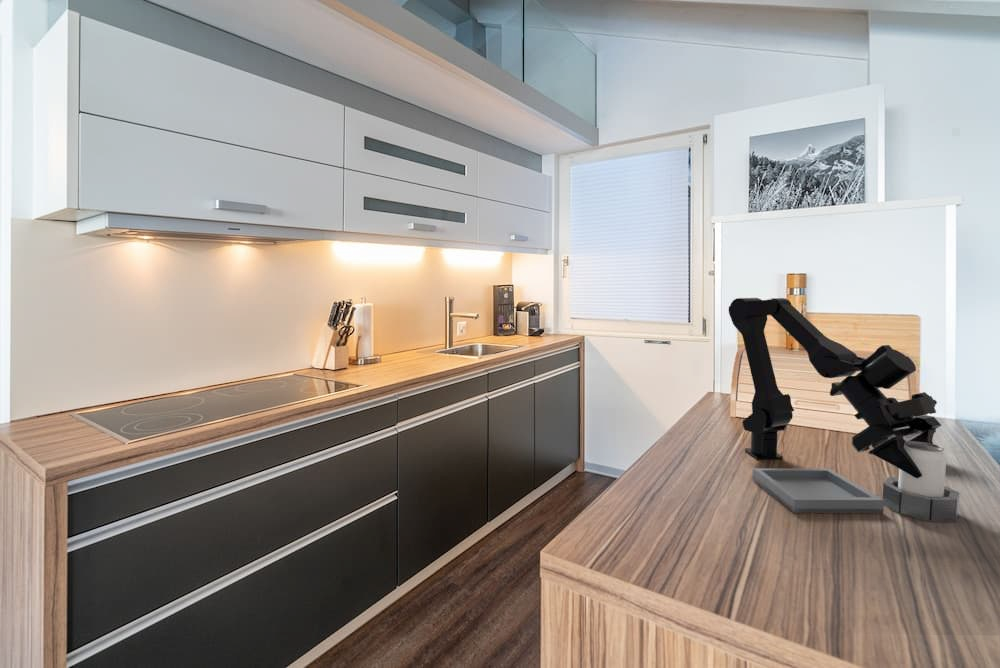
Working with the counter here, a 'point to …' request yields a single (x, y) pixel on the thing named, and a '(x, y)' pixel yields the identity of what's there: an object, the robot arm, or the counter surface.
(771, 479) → the tray
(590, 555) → the counter surface
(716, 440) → the counter surface
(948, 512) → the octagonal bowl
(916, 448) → the can
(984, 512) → the counter surface
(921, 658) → the counter surface
